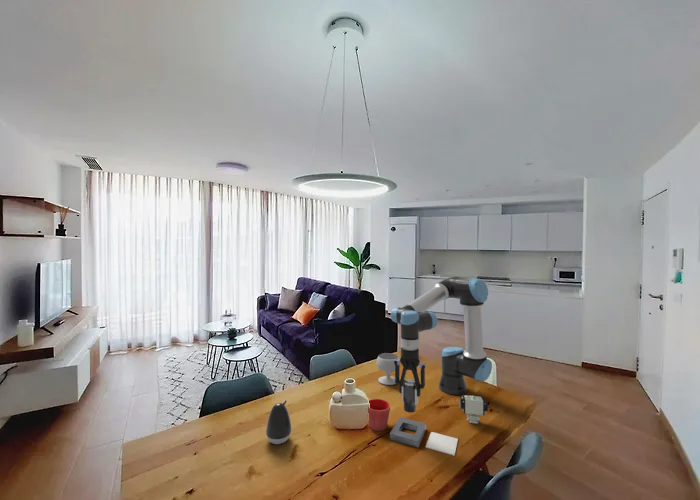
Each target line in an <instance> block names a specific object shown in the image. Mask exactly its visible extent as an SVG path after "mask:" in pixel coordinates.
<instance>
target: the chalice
mask: <svg viewBox="0 0 700 500" xmlns="http://www.w3.org/2000/svg"><path fill="white" fill-rule="evenodd" d="M396 359H400V358H399V356H398V355H397V354H394V353H391V352H384V353H383V352H382V353H380V354H378V356H377V358H376V366H377V368H378V369H379V370H380V371H382V372H384V373H385V374H386V375H384V376H380V377H379V378H377V381H378V383H380V384H382V385H386V386H393V385H397V384H396V383H395V376H392V375H391V373H393V372H394V373H395V364H394V361H395V360H396ZM399 365H401V363H400V364H399Z"/></svg>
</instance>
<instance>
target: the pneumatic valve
mask: <svg viewBox="0 0 700 500" xmlns="http://www.w3.org/2000/svg"><path fill="white" fill-rule="evenodd" d="M458 404H459V405H458V406H459V409H460V410H462V411H463V412H462V413H463V414H466V421H468V424H469V423H470V424H475V425H478V424H479V422H480V421H481V420H480V418H481V417H480V416H485V414H486V413H487V412H488V411H489V404H488V401H487V400H485V399H484V398H483V396H478V395H477V396H476V395H471V394H470V395H466V394H465V395H464V394H461V398H459V402H458Z"/></svg>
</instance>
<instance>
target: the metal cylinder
mask: <svg viewBox="0 0 700 500" xmlns="http://www.w3.org/2000/svg"><path fill="white" fill-rule="evenodd" d="M403 384H404V402H403V410H404V411H405V412H406V413H409V414H411V413H415V412H416V411H417V405H415V388H416V384H415V380H414V379H412V378H406V379H404V383H403Z"/></svg>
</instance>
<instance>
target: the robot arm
mask: <svg viewBox="0 0 700 500" xmlns="http://www.w3.org/2000/svg"><path fill="white" fill-rule="evenodd" d="M488 296H489V288H488V285H487V283H486V282H485V281H484V280H483V279H481V278H476V277H463V276H462V277H461V276H451V277H447V278H446V279H443V280H441V281H439V282H437V283H436V284H434V285H433V288H431V289H429V290H428V291H426V292H425V293H423V294H421V295H420V296H418V297H417V298H416V299H414V300H412V301H410V302H409V303H408V304H405V305H404V306H403V307H398V306H396V307H393V309H392V310H391V312H390V319H391V321H392V322H394V323H395V324H398V325H400V347H401V348H400V358H399V359H396V360H395V361H394V364H395V371H394V375H395V376H394V377H395V383H396V384H395V385H398V386H399V387H398V389H399V393H400V394H401V402H402V403H404V380H406V379H405V378H406V375H407V371H408V370H409V371H411V373H412V375H413V380H415V384H416V388H415V405H416V406H417V405H418V403H419V397H420V396H421V390H423V389H424V388H425V386H426V375H425V373H426V372H425V371H426V370H425V369H426V366H427V364H426V363H422V362H421V361H420V356H419V355H420V350H419V347H420V345H419V343H420V341H419V340H420V339H419V338H420V333H421V332H424V331H428V330H429V331H430V330H432V329H434V328H436V327H437V325H438V316H437V315H436V314H435V313H434V312H432V311H428V310H429V309H431V308H432V307H434V306H435V305H437V304H438V303H439V302H441V301H446V300H447V299H452V298H453V299H459V304H460V306H462V307H463V308H462V309H463V326H464V341H465V349H464V348H463V347H460V346H448V347H444V348H443V349H442V353H441V375H440V378H439V382H438V389H439V390H441V392H443V393H446V394H449V395H453V396H454V395H457V396H460V395H461V396H462V395H464V394H466V393H467V390H468V386H467V383H466V380H465V377H468V378H471V379H473V380H475V381H479V382H486V381H487V380H488V379H489V377H490V375H491V374H492V370H493V363H492V361H491V360H490V359H488V357H487V353H486V352H485V351H484V340H483V338H484V337H483V324H482V323H483V322H482V321H483V320H482V307H483V306H484V304H485V302H486V301H487V300H488ZM399 364H400V365H402V373H401V372H400V368H401V367H400V365H399ZM418 366H419V369H420V377H419V373H418V369H417V368H418ZM400 373H401V374H400ZM400 375H401V376H400Z"/></svg>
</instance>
